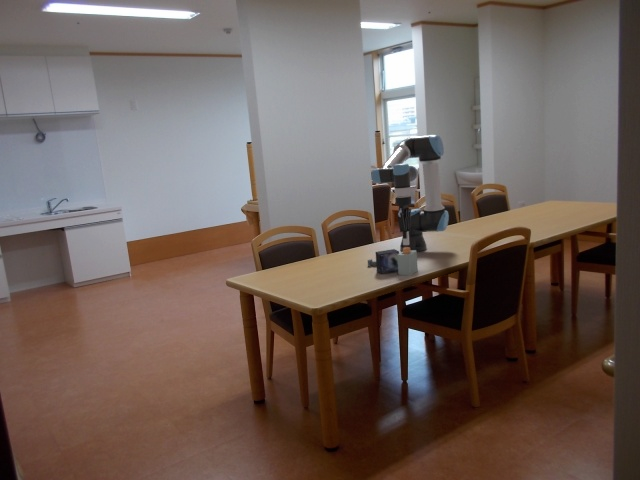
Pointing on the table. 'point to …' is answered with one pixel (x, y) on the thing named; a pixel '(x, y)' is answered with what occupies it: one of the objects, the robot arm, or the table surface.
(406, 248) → the button
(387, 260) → the small box
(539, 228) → the table surface
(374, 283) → the table surface
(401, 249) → the robot arm
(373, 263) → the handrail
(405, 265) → the end cabinet
